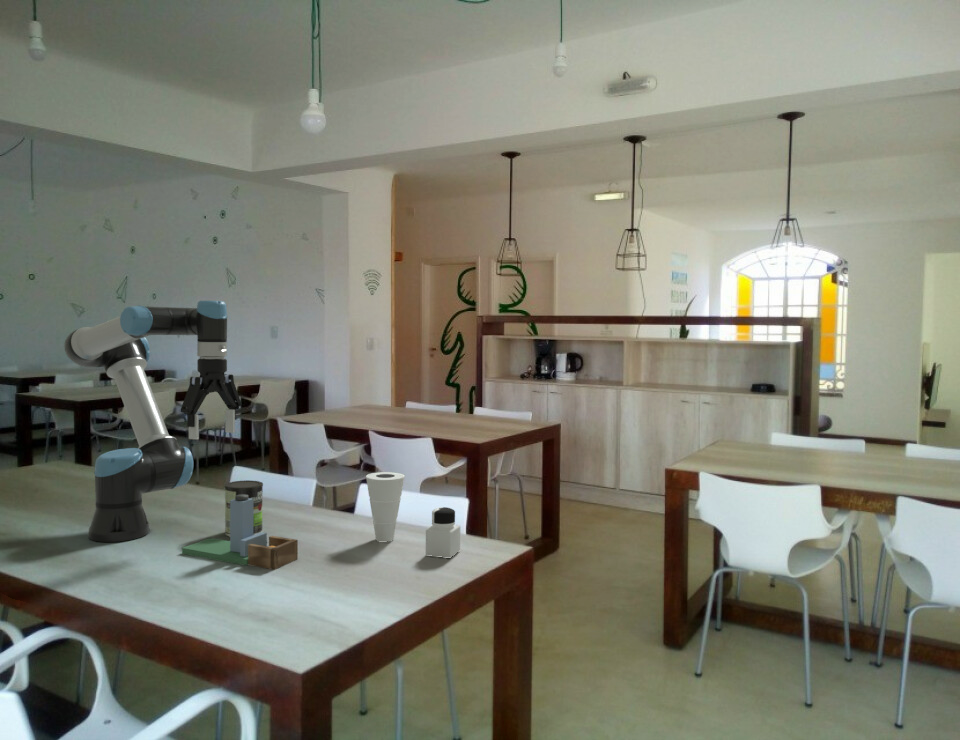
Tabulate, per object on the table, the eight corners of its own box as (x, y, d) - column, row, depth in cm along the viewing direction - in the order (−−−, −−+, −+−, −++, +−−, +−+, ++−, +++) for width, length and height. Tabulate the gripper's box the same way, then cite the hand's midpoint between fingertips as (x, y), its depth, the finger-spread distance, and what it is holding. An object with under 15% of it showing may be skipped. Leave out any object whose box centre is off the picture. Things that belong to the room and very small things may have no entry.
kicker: (224, 553, 185) (224, 498, 184) (246, 544, 192) (246, 491, 191) (245, 556, 182) (245, 501, 181) (266, 548, 189) (266, 494, 189)
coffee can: (269, 529, 213) (269, 481, 212) (251, 539, 203) (251, 488, 202) (236, 526, 215) (236, 479, 214) (217, 536, 205) (217, 486, 204)
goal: (248, 564, 181) (248, 545, 181) (272, 554, 189) (272, 535, 189) (274, 569, 178) (274, 549, 178) (297, 559, 186) (297, 539, 186)
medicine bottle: (460, 551, 195) (461, 507, 194) (450, 559, 188) (451, 513, 188) (435, 548, 198) (436, 504, 197) (425, 556, 191) (425, 510, 190)
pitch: (182, 553, 189) (182, 547, 189) (210, 543, 198) (210, 537, 198) (246, 565, 181) (246, 559, 181) (273, 554, 190) (273, 548, 190)
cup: (410, 537, 207) (411, 474, 206) (390, 547, 197) (391, 481, 196) (378, 532, 212) (379, 470, 210) (357, 542, 202) (358, 477, 201)
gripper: (187, 359, 186) (188, 443, 187) (254, 356, 209) (254, 431, 210) (165, 358, 189) (166, 440, 190) (233, 356, 212) (233, 429, 213)
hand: (212, 435), depth 200 cm, fingers open, 13 cm apart
